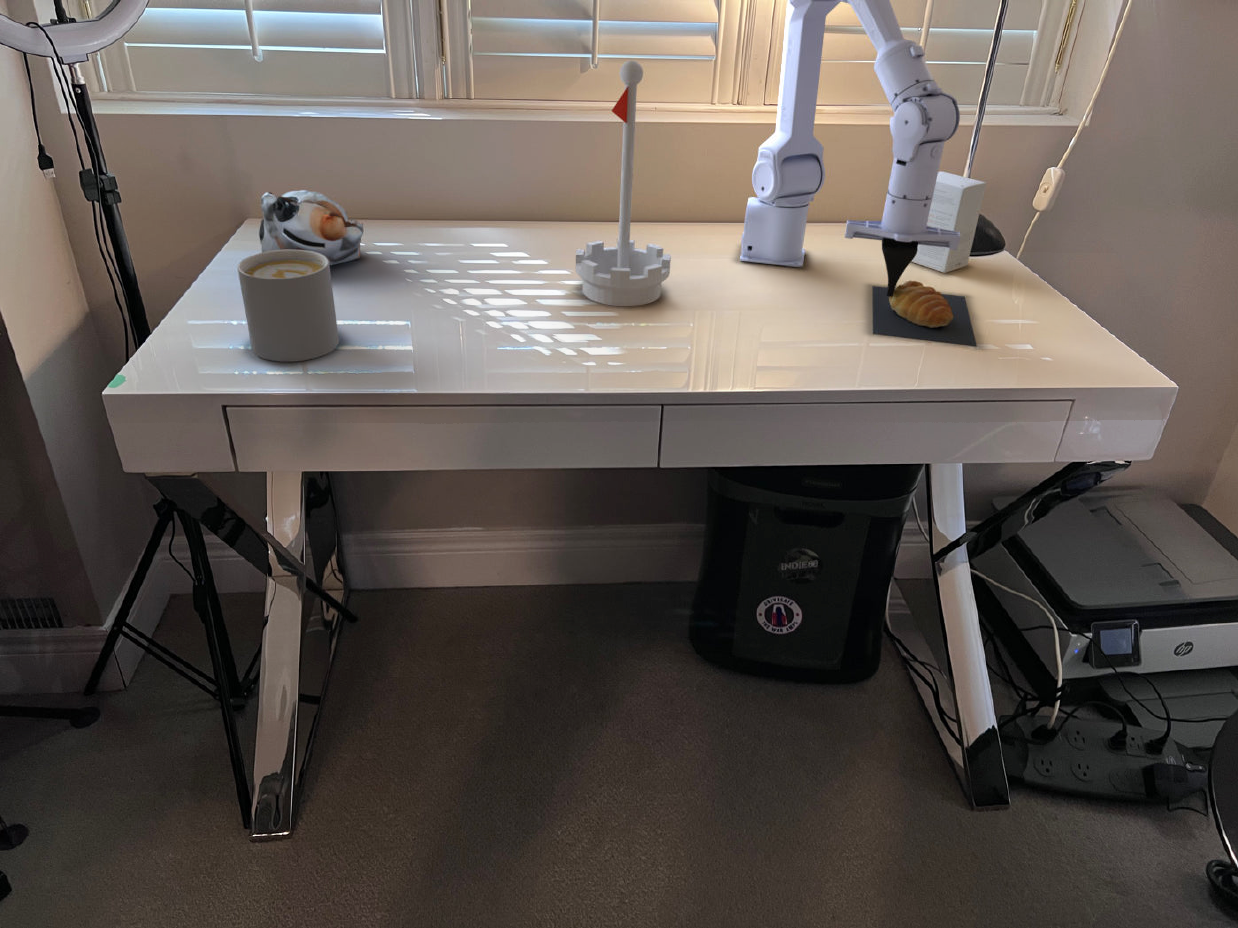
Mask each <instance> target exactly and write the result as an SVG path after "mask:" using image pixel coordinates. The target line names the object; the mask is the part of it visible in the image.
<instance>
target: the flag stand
mask: <svg viewBox="0 0 1238 928" xmlns="http://www.w3.org/2000/svg"><path fill="white" fill-rule="evenodd" d="M619 78H620V80H621V82H622V83H623V84H624V91H623V93H622V94H621V96H620V97H619V98H618V100H617V102H616V103H615V105H614V106H613V107H612V109H611V112H612V113H613V114H614V115H615V116H616V117H618V118H619V119H620V120H621V121H622V122H623V123H622V147H621V166H620V167H621V171H620V173H621V174H620V193H619V196H620V197H619V221H618V238H617V239H616V246H606V247H605V246H604V244H605V242H603V241H602V240H595V241H594V240H593V241H590V242H587V243H586V244H585V249H583V248H576V251H575V273H576V275H578V277H580V278H581V279H582V293H583V295H584V296H585V297H586V298H587V299H590V300H591V301H593V302H596V303H599V304H603V305H606V306H607V305H608V306H613V307H614V306H615V307H636V306H643V305H648V304H650V303H654V302H655V301H657V300H658V299H659V298H660V296H661V295H662V283H663V282H665V281H666V280H667V279H668V278H669V277H670V274H671V273H670V272H671V262H672V261H671V260H672V256H671V254H670V253H664V247H662V246H660V245H657V244H654V243H649V244H646V247H645V248H646V249H643V248H636V246H635V243H636V242H635V241H636V240H635V239H631V222H632V221H631V220H632V199H633V198H632V197H633V179H634V177H633V175H634V156H635V135H636V134H635V133H636V113H637V112H636V111H637V93H638V91H637V90H638V84H640V82H642V80H643V78H644V70H643V66H642V65H641V64H640V63H639V62H638V61H636V60H627V61H625V62H624V63H623V64H622V65H621V67H620V69H619Z"/></svg>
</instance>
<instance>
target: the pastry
mask: <svg viewBox="0 0 1238 928" xmlns="http://www.w3.org/2000/svg"><path fill="white" fill-rule="evenodd" d="M941 294H942V293H941V292H940V291H938V290H936V289H935V288H934V287H932V286H930V285H929V286H925V285H924V283H922V282H920V281H917V280H908V281H905V282H904V283H902V284H899V285H898V286H896V287H895V290H894V293H893V297H889V302H890V305H891V307H892V310H895V311H896V312H897V314H898V315H900V316H901V317H903V318H906V319H907V320H908V321H911V322H913V323H915V324H917V325H921V326H928V327H930V328H933V327H939V326H946V325H948V324H949V323H950V321H951V320H952V319H953V314H952V312H951V307H950V306H949V305H948V302H947V300H946V299H944V298H943V296H942V295H941Z"/></svg>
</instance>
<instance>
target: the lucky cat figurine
mask: <svg viewBox="0 0 1238 928" xmlns="http://www.w3.org/2000/svg"><path fill="white" fill-rule="evenodd" d="M260 210H261V211H262V216H263V218H262V219H261V221H260V225H259V231H258V235H259V236H258V237H259V242H260V246H261V253H263V252H268V251H275V250H306V251H313V252H316V253H320V254H322V255H324V256H325V257H326V258H327V259H328V261H329V266H334V265H338V264H342V263H346V262H349V261H354V260H355V261H356V260H359V259H360V258H361V242H362V237H363V235H364V223H360V222H359V221H358V220H357V219H349V217H348V213H347V211H346V210H345V208H344V207H343V206H342V205H341V204H339V203H338V202H337V201H335V200H333V199H329V198H328V196H326V195H324V194H322V193H320V192H318V191H309V190H306V189H303V190H292V191H287V192H285V193H283V194H282V195H279V196H276V195H274V194H273V192H272V191H267V192H265V193H264V194H263V195H261V196H260Z"/></svg>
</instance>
